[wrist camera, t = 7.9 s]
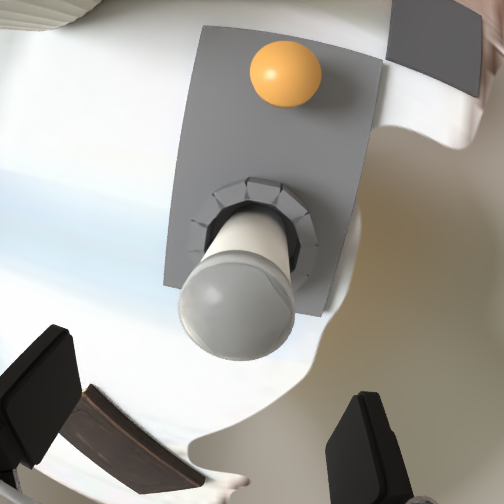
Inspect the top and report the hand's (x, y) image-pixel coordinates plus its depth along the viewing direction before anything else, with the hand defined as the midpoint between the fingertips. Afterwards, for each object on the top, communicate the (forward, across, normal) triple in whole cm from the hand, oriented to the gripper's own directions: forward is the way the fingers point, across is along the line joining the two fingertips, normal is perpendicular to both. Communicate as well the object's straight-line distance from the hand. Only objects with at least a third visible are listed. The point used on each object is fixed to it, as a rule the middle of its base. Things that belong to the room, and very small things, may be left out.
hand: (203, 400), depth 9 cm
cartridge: (+17, -1, 0) cm, 17 cm away
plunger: (+17, -1, -12) cm, 21 cm away
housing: (+18, -1, -6) cm, 19 cm away
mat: (+18, -13, -22) cm, 31 cm away
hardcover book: (+20, +14, +37) cm, 44 cm away
